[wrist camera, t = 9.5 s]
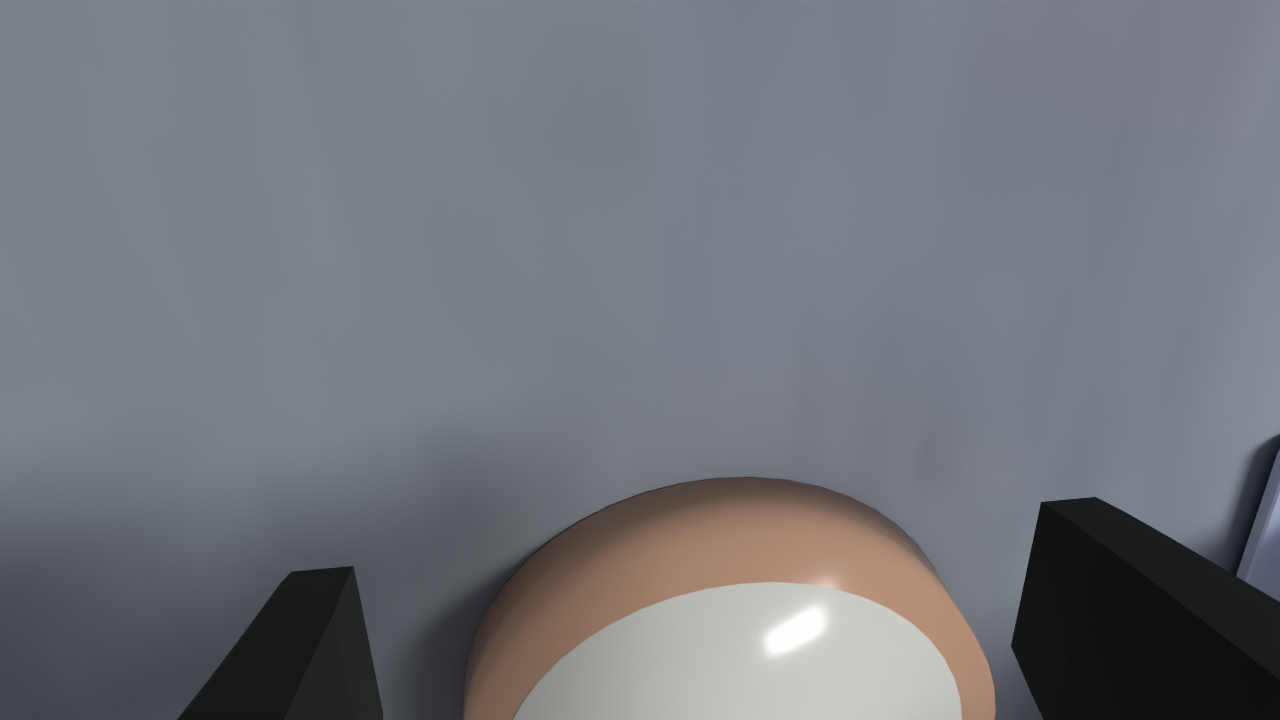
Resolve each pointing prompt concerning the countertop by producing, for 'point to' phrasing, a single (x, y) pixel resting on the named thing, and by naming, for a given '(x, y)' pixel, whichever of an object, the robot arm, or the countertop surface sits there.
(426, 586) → the countertop surface
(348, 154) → the countertop surface
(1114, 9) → the countertop surface
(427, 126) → the countertop surface
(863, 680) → the terracotta dish
